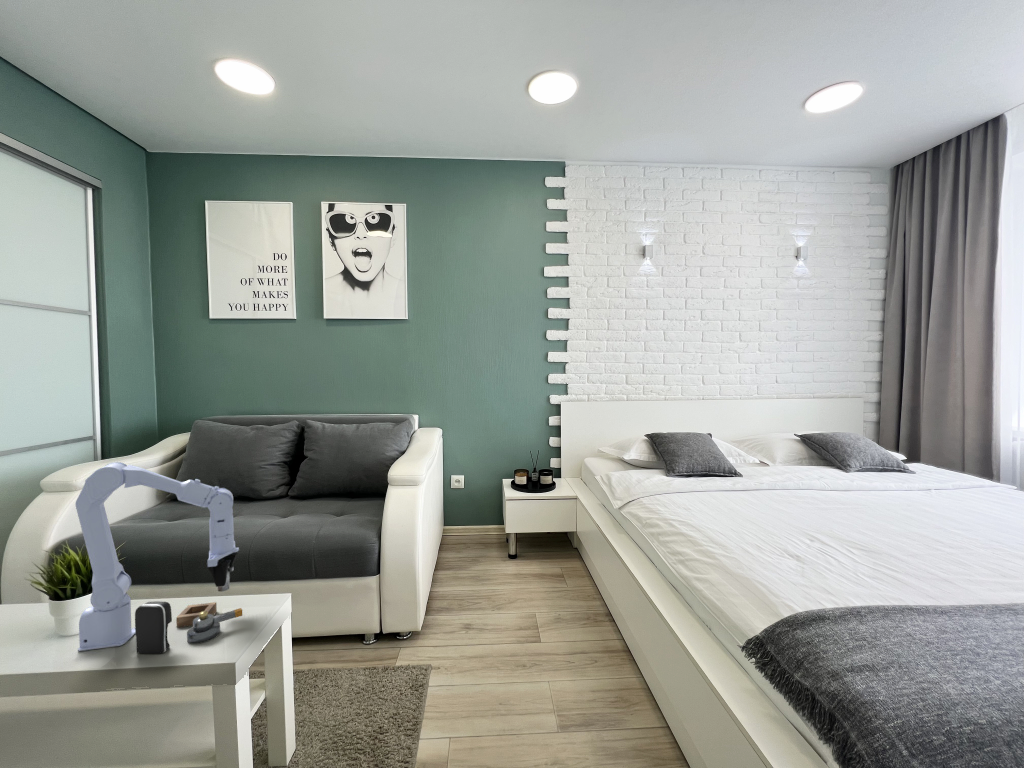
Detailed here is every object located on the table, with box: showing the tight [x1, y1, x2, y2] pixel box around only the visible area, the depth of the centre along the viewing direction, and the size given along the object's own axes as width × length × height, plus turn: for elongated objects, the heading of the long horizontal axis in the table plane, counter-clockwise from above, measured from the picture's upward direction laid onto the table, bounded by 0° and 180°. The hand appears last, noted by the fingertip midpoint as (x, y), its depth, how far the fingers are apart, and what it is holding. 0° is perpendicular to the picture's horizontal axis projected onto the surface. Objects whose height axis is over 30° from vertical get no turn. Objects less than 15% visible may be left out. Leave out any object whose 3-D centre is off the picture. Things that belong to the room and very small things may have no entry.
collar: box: [192, 607, 243, 632], centre depth 121 cm, size 4×11×2 cm, turn 131°
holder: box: [175, 601, 218, 628], centre depth 128 cm, size 7×7×3 cm
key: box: [217, 565, 235, 592], centre depth 130 cm, size 5×3×6 cm, turn 103°
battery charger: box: [134, 600, 173, 655], centre depth 113 cm, size 7×4×11 cm, turn 86°
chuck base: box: [186, 611, 221, 645], centre depth 119 cm, size 7×7×6 cm
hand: (222, 583), depth 130 cm, fingers closed on key, 3 cm apart
